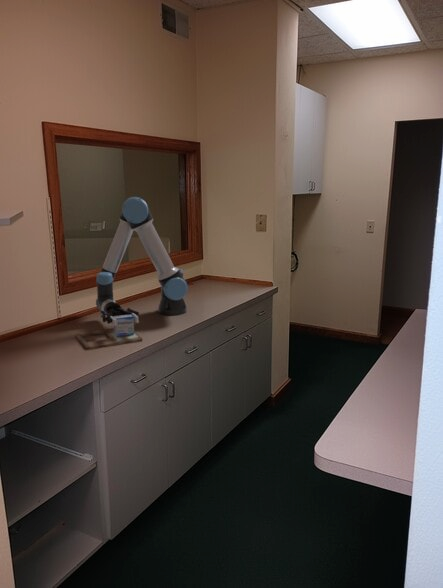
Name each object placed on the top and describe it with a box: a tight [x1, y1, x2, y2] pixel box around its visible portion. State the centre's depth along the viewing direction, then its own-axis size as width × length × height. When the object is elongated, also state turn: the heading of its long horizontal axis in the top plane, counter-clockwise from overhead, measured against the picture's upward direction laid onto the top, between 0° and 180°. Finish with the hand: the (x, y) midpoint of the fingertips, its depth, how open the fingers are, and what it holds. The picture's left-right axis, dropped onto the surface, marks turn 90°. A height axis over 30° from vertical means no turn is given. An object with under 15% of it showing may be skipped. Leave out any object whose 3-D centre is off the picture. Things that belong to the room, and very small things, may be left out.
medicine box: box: [113, 314, 135, 337], centre depth 207 cm, size 8×4×9 cm, turn 118°
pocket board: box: [75, 327, 143, 351], centre depth 207 cm, size 24×20×1 cm
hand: (126, 321), depth 202 cm, fingers open, 9 cm apart
